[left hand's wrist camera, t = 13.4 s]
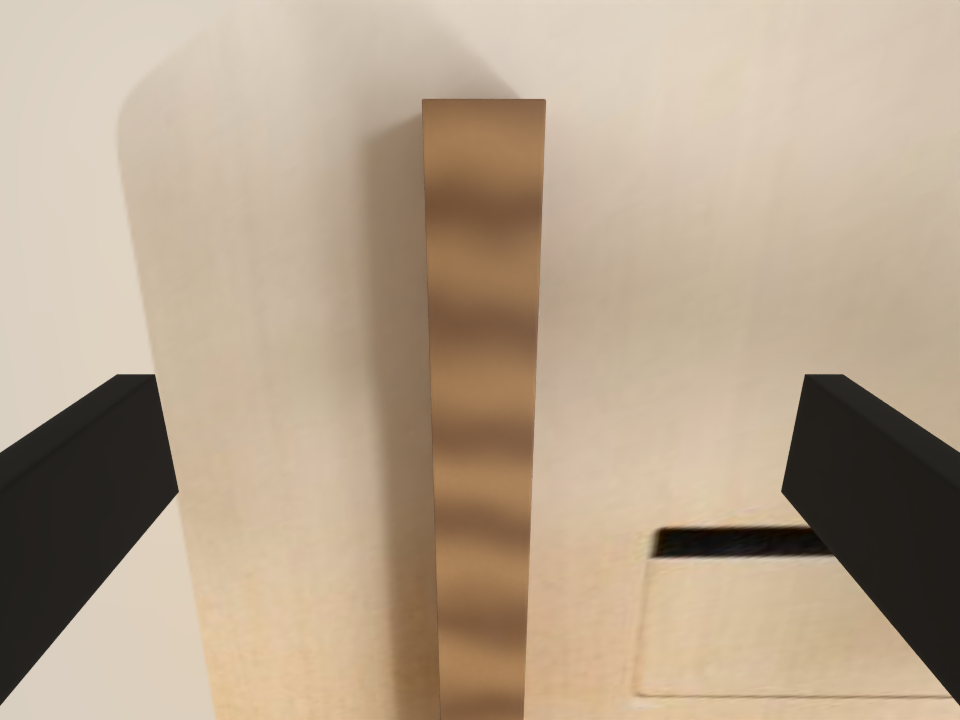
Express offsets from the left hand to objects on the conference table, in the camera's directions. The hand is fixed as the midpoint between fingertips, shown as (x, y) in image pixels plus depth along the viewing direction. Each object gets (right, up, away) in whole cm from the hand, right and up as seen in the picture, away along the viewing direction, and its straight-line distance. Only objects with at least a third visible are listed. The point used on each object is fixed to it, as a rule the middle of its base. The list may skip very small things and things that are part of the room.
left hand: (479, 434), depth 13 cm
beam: (0, -21, +33) cm, 39 cm away
